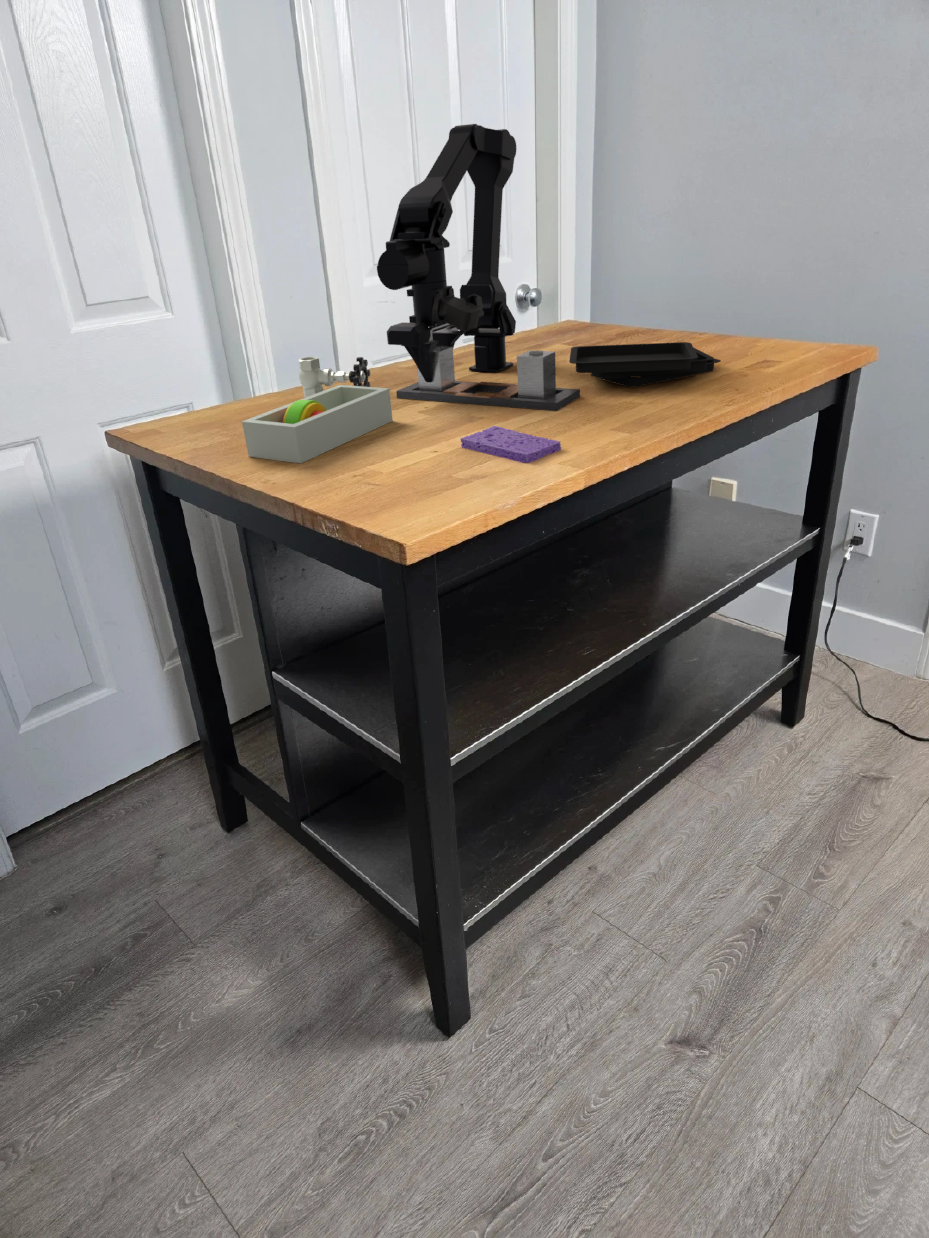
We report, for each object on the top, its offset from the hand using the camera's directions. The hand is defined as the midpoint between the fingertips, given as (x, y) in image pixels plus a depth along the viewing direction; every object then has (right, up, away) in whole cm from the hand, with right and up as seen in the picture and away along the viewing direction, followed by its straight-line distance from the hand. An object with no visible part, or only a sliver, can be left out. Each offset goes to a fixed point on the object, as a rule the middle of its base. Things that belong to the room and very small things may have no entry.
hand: (436, 379), depth 141 cm
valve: (-18, -2, +5) cm, 19 cm away
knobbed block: (0, -2, +1) cm, 2 cm away
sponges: (+11, -19, -29) cm, 36 cm away
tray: (+36, 0, +1) cm, 36 cm away
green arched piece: (-16, -14, -18) cm, 28 cm away
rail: (+8, -4, -3) cm, 10 cm away
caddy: (-16, -14, -18) cm, 28 cm away
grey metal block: (+17, -6, -8) cm, 19 cm away
